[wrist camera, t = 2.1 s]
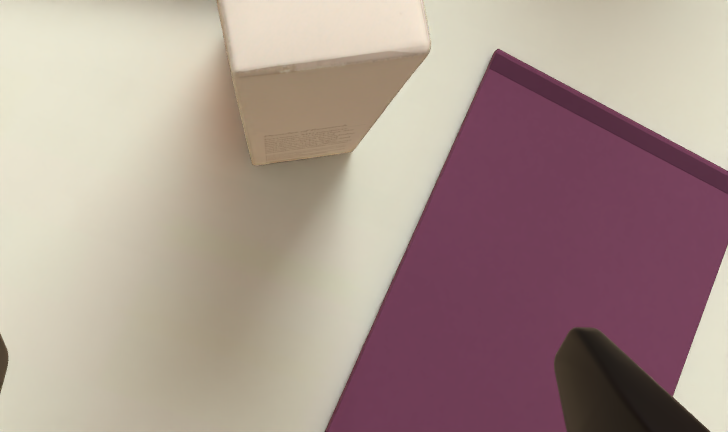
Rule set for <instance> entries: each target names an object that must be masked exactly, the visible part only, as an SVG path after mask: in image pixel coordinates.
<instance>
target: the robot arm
mask: <svg viewBox="0 0 728 432" xmlns="http://www.w3.org/2000/svg"><path fill="white" fill-rule="evenodd" d="M7 366H8V351H7V348H6V346H5V343H4V341H3V339H2V336H1V334H0V393H1V389H2V385H3V382H4V378H5V374H6V370H7ZM554 371H555V376H556V381H557V386H558V391H559V396H560V401H561V406H562V411H563V415H564V420H565V425H566V430H567V432H710V431H709V430H708V429H707V428H706V427H705V426H704V425H703V424H702V423H700V422H699V421H698V420H697V419H696V418H695V417H694V416H693V415H692V414H691V413H690V412H688V411H687V410H686V409H685V408H684V407H683V406H682V405H681V404H680V403H679V402H678V401H677V400H675V399H674V398H673V397H672V396H671V395H670V394H669V393H668V392H667V391H666V390H665V389H663V388H662V387H661V386H660V385H659V384H658V383H657V382H656V381H655V380H654V379H653V378H651V377H650V376H649V375H648V374H647V373H646V372H645V371H644V370H643V369H642V368H641V367H639V366H638V365H637V364H636V363H635V362H634V361H633V360H632V359H631V358H630V357H629V356H627V355H626V354H625V353H624V352H623V351H622V350H621V349H620V348H619V347H618V346H617V345H616V344H614V343H613V342H612V341H611V340H610V339H609V338H608V337H607V336H606V335H605V334H604V333H602V332H601V331H600V330H598V329H596V328H592V327H574V328H573V329H571V330H570V331H569V332H568V334H567V336H566V338H565V339H564V341H563V343H562V345H561V346H560V348H559V350H558V352H557V353H556V355H555V359H554Z"/></svg>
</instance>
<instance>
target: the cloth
mask: <svg viewBox="0 0 728 432" xmlns="http://www.w3.org/2000/svg"><path fill="white" fill-rule="evenodd" d="M727 245H728V171H727V170H725V169H723V168H721V167H719V166H717V165H715V164H714V163H712V162H710V161H708V160H706V159H704V158H702V157H700V156H699V155H697V154H695V153H693V152H691V151H689V150H687V149H685V148H684V147H682V146H680V145H678V144H676V143H674V142H672V141H670V140H669V139H667V138H665V137H663V136H661V135H659V134H657V133H655V132H654V131H652V130H650V129H648V128H646V127H644V126H642V125H640V124H638V123H637V122H635V121H633V120H631V119H629V118H627V117H625V116H623V115H622V114H620V113H618V112H616V111H614V110H612V109H610V108H608V107H607V106H605V105H603V104H601V103H599V102H597V101H595V100H593V99H592V98H590V97H588V96H586V95H584V94H582V93H580V92H578V91H577V90H575V89H573V88H571V87H569V86H567V85H565V84H563V83H562V82H560V81H558V80H556V79H554V78H552V77H550V76H548V75H547V74H545V73H543V72H541V71H539V70H537V69H535V68H533V67H532V66H530V65H528V64H526V63H524V62H522V61H520V60H518V59H517V58H515V57H513V56H511V55H509V54H507V53H505V52H503V51H502V50H500V49H497V50H496V51H495V52H494V54H493V56H492V58H491V61H490V63H489V65H488V67H487V70H486V72H485V74H484V76H483V79H482V81H481V83H480V85H479V88H478V90H477V92H476V94H475V97H474V99H473V101H472V103H471V106H470V108H469V110H468V112H467V114H466V117H465V119H464V121H463V123H462V126H461V128H460V130H459V132H458V135H457V137H456V139H455V141H454V144H453V146H452V148H451V150H450V153H449V155H448V157H447V159H446V162H445V164H444V166H443V168H442V170H441V173H440V175H439V177H438V179H437V182H436V184H435V186H434V188H433V191H432V193H431V195H430V197H429V200H428V202H427V204H426V206H425V209H424V211H423V213H422V215H421V218H420V220H419V222H418V224H417V227H416V229H415V231H414V233H413V235H412V238H411V240H410V242H409V244H408V247H407V249H406V251H405V253H404V256H403V258H402V260H401V262H400V265H399V267H398V269H397V271H396V274H395V276H394V278H393V280H392V283H391V285H390V287H389V289H388V291H387V294H386V296H385V298H384V300H383V303H382V305H381V307H380V309H379V312H378V314H377V316H376V318H375V321H374V323H373V325H372V327H371V330H370V332H369V334H368V336H367V339H366V341H365V343H364V345H363V348H362V350H361V352H360V354H359V356H358V359H357V361H356V363H355V365H354V368H353V370H352V372H351V374H350V377H349V379H348V381H347V383H346V386H345V388H344V390H343V392H342V395H341V397H340V399H339V401H338V404H337V406H336V408H335V410H334V412H333V415H332V417H331V419H330V421H329V424H328V426H327V428H326V430H325V432H567V430H566V425H565V420H564V415H563V411H562V406H561V401H560V396H559V391H558V386H557V381H556V376H555V371H554V359H555V355H556V353H557V352H558V350H559V348H560V346H561V345H562V343H563V341H564V339H565V338H566V336H567V334H568V332H569V331H570V330H571V329H573V328H574V327H592V328H596V329H598V330H600V331H601V332H602V333H604V334H605V335H606V336H607V337H608V338H609V339H610V340H611V341H612V342H613V343H614V344H616V345H617V346H618V347H619V348H620V349H621V350H622V351H623V352H624V353H625V354H626V355H627V356H629V357H630V358H631V359H632V360H633V361H634V362H635V363H636V364H637V365H638V366H639V367H641V368H642V369H643V370H644V371H645V372H646V373H647V374H648V375H649V376H650V377H651V378H653V379H654V380H655V381H656V382H657V383H658V384H659V385H660V386H661V387H662V388H663V389H665V390H666V391H667V392H668V393H669V394H670V395H671V396H672V397H673V394H674V391H675V389H676V386H677V383H678V380H679V378H680V375H681V372H682V369H683V367H684V364H685V361H686V358H687V355H688V353H689V350H690V347H691V344H692V342H693V339H694V336H695V333H696V331H697V328H698V325H699V322H700V320H701V317H702V314H703V311H704V309H705V306H706V303H707V300H708V298H709V295H710V292H711V289H712V287H713V284H714V281H715V278H716V275H717V273H718V270H719V267H720V264H721V262H722V259H723V256H724V253H725V251H726V248H727Z"/></svg>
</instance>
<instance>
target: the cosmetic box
mask: <svg viewBox="0 0 728 432" xmlns="http://www.w3.org/2000/svg"><path fill="white" fill-rule="evenodd" d="M217 6H218V11H219V16H220V21H221V26H222V31H223V36H224V42H225V47H226V51H227V56H228V61H229V66H230V71H231V76H232V80H233V85H234V89H235V94H236V98H237V103H238V107H239V111H240V115H241V120H242V124H243V128H244V132H245V137H246V141H247V145H248V149H249V153H250V157H251V161H252V164H253V165H255V166H258V165H265V164H271V163H278V162H285V161H293V160H300V159H308V158H315V157H322V156H329V155H335V154H342V153H349V152H352V151H354V149H355V148H356V147H357V145H358V144H359V143H360V141H361V140H362V139H363V138H364V136H365V135H366V134H367V132H368V131H369V130H370V128H371V127H372V126H373V124H374V123H375V122H376V121H377V119H378V118H379V117H380V115H381V114H382V113H383V111H384V110H385V109H386V107H387V106H388V105H389V103H390V102H391V101H392V100H393V98H394V97H395V96H396V94H397V93H398V92H399V90H400V89H401V88H402V87H403V85H404V84H405V83H406V82H407V80H408V79H409V78H410V77H411V75H412V74H413V73H414V72H415V70H416V69H417V68H418V67H419V65H420V64H421V63H422V62H423V61H424V59H425V58H426V57H427V55H428V54H429V52H430V49H431V40H430V35H429V29H428V24H427V18H426V13H425V7H424V2H423V0H217Z"/></svg>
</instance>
